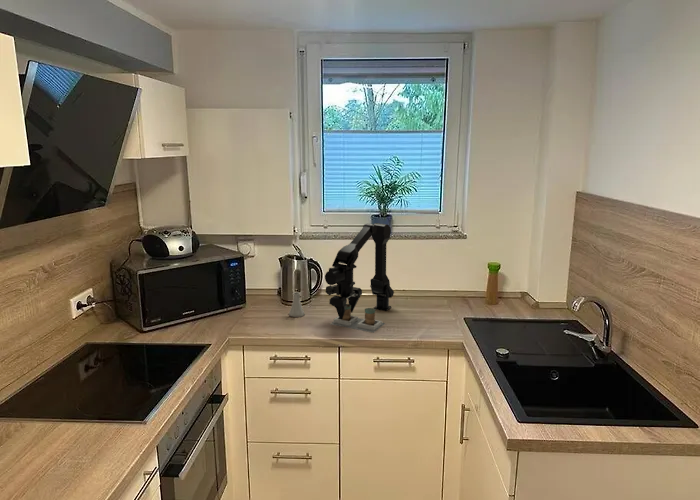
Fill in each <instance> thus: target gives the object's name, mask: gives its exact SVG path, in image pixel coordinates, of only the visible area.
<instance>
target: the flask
mask: <svg viewBox="0 0 700 500" xmlns="http://www.w3.org/2000/svg"><path fill="white" fill-rule="evenodd" d="M292 295H293V300H292V303H291V307H290V309H289V312H288V315H289V317H293V318H300V317H301V318H302V317H304V316H305V315H306V314H305V311H304V308H303V306H302V303H301V298H300V297H301V296H300V295H301V292H298V291H297V292H296V291H295V292H292Z"/></svg>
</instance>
